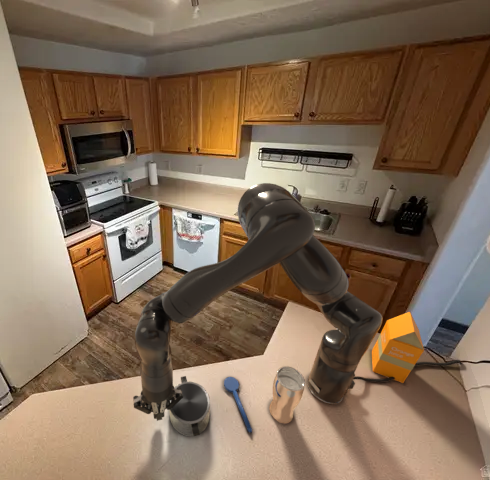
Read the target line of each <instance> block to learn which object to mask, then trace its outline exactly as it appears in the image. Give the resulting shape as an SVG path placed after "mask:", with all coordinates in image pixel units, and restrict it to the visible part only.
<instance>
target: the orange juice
mask: <svg viewBox="0 0 490 480" xmlns="http://www.w3.org/2000/svg"><path fill="white" fill-rule="evenodd" d="M421 336H422V335H421V332H420V329H419V327H418V325H417V322H416V321H415V319H414V316H413V314H412V313H411V311H408V312H406V313H402V314H400V315H398V316H394V317H392V318H389V319H386V321H385V324H384V326H383V327H382V330H381V331H380V333H379V335H378V337H377V340H376V341H375V343H374V346H373V347H372V349H371V362H372V372H373V373H376V374H378V375H381V376H383V377H385V378H389V377H394V378H395V379H394V380H393V381H397V382H399V383H401V384H404V383H405V381H406V379H407V378H408V376H409V375H410V373H411V372H412V371H413V370H414V368H415V367H416V366H415V364H416V363H417V362H419V359H420V358H421V356H422V354H423V353H424V352H425V348H424V344H423V340H422V337H421Z"/></svg>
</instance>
